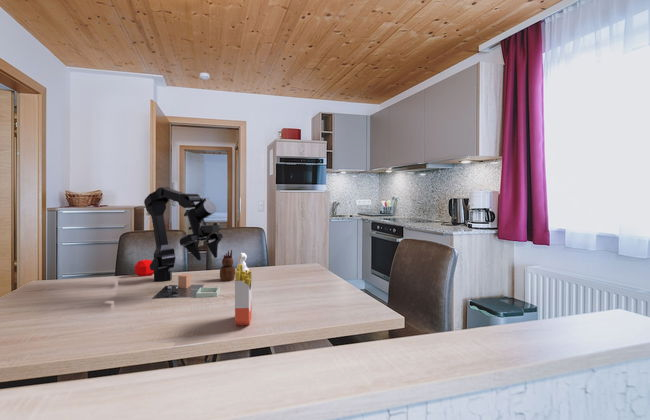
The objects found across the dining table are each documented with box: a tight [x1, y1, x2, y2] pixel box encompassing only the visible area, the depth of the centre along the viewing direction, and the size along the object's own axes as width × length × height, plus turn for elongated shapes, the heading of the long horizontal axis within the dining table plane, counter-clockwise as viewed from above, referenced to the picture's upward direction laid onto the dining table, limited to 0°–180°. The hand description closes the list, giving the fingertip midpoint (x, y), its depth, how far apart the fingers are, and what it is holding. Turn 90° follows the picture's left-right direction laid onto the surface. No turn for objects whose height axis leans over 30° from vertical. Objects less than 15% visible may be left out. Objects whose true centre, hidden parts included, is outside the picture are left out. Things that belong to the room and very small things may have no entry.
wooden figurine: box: [219, 249, 236, 282], centre depth 156 cm, size 7×6×15 cm
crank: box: [167, 284, 178, 296], centre depth 137 cm, size 14×4×4 cm, turn 29°
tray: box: [195, 286, 221, 298], centre depth 135 cm, size 8×8×2 cm
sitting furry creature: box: [235, 252, 250, 278], centre depth 166 cm, size 10×9×12 cm
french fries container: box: [234, 263, 253, 326], centre depth 109 cm, size 5×11×18 cm, turn 7°
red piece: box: [134, 258, 154, 278], centre depth 165 cm, size 8×8×8 cm
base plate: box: [151, 284, 205, 300], centre depth 139 cm, size 16×18×1 cm
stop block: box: [177, 273, 192, 288], centre depth 144 cm, size 4×4×5 cm
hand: (208, 258), depth 137 cm, fingers open, 9 cm apart
